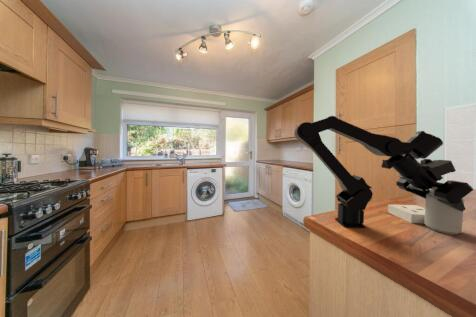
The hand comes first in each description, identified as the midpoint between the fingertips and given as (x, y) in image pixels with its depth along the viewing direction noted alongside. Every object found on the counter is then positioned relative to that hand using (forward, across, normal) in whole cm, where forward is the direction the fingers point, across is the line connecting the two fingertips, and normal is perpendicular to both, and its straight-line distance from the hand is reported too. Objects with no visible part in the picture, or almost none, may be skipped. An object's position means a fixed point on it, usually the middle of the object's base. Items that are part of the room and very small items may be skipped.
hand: (449, 205), depth 53 cm
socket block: (+4, +10, +7) cm, 12 cm away
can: (+4, 0, +6) cm, 8 cm away
